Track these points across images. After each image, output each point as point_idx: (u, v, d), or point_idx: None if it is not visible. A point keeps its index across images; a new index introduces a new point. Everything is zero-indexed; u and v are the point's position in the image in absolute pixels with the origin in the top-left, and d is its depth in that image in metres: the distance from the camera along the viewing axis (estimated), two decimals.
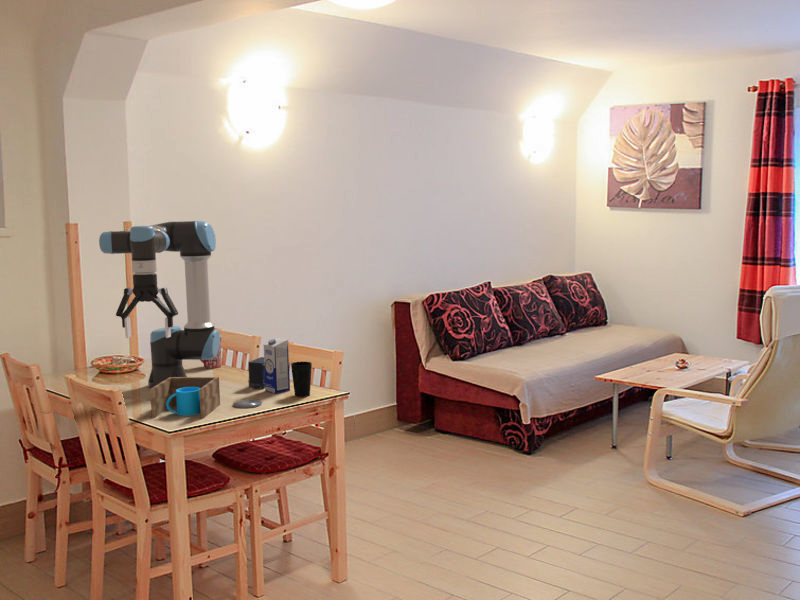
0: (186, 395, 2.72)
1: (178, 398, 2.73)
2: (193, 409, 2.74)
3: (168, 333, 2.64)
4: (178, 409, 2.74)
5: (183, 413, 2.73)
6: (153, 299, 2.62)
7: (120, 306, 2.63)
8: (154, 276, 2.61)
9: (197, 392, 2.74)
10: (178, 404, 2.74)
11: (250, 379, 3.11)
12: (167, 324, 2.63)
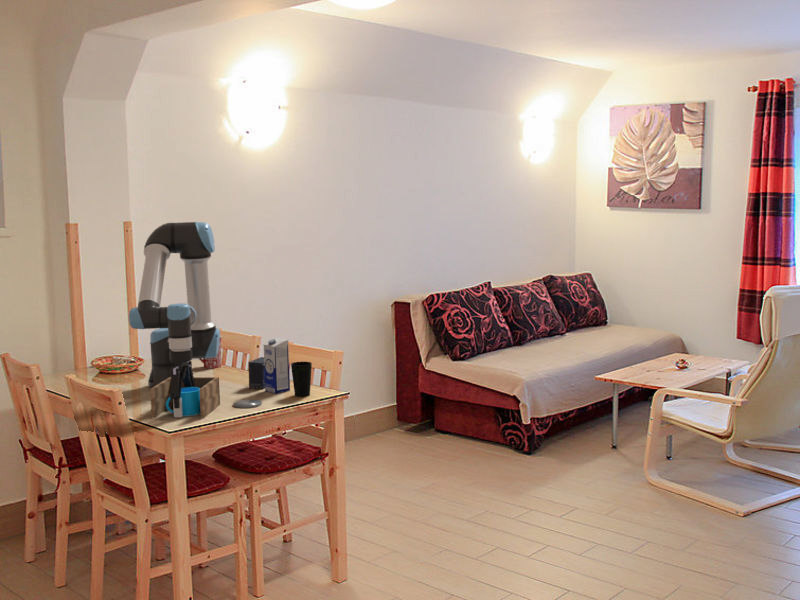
0: (186, 395, 2.72)
1: None
2: (193, 409, 2.73)
3: (176, 413, 2.70)
4: None
5: (183, 413, 2.73)
6: None
7: None
8: (174, 354, 2.70)
9: (197, 392, 2.74)
10: None
11: (250, 379, 3.11)
12: None
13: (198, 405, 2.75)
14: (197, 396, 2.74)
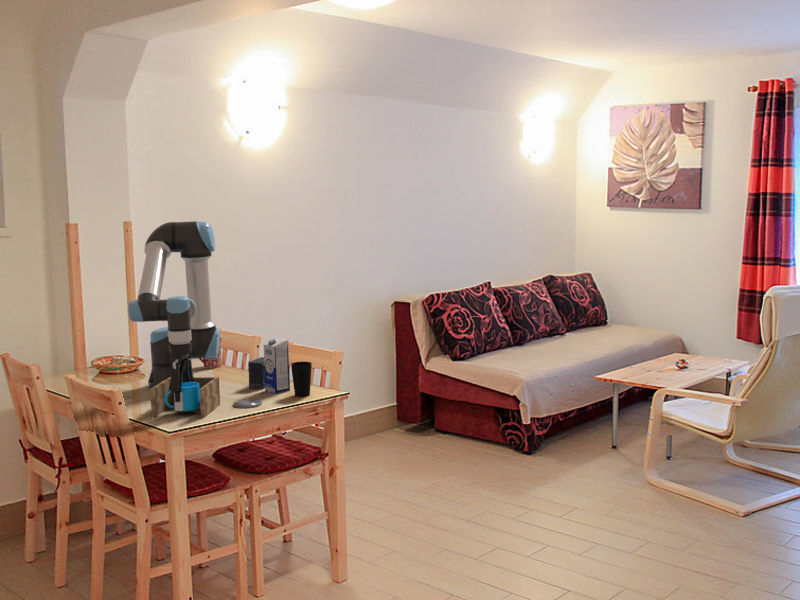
0: (185, 390, 2.71)
1: None
2: (192, 404, 2.73)
3: (176, 407, 2.71)
4: None
5: None
6: None
7: None
8: (174, 347, 2.70)
9: (196, 387, 2.73)
10: None
11: (250, 379, 3.11)
12: None
13: (197, 400, 2.74)
14: (196, 391, 2.74)
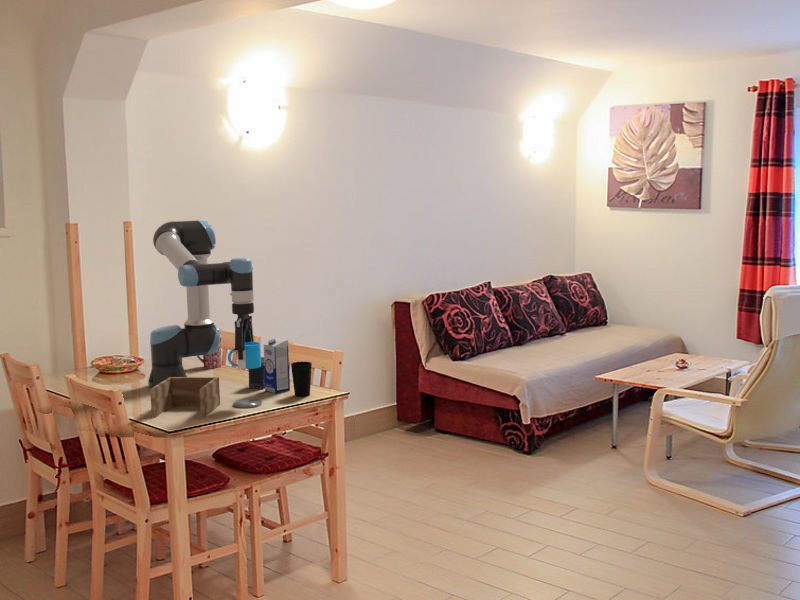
0: (248, 348, 2.80)
1: None
2: (254, 362, 2.81)
3: (239, 364, 2.80)
4: None
5: None
6: None
7: None
8: (237, 306, 2.78)
9: (258, 346, 2.82)
10: None
11: (250, 379, 3.11)
12: None
13: (259, 359, 2.83)
14: (258, 350, 2.82)
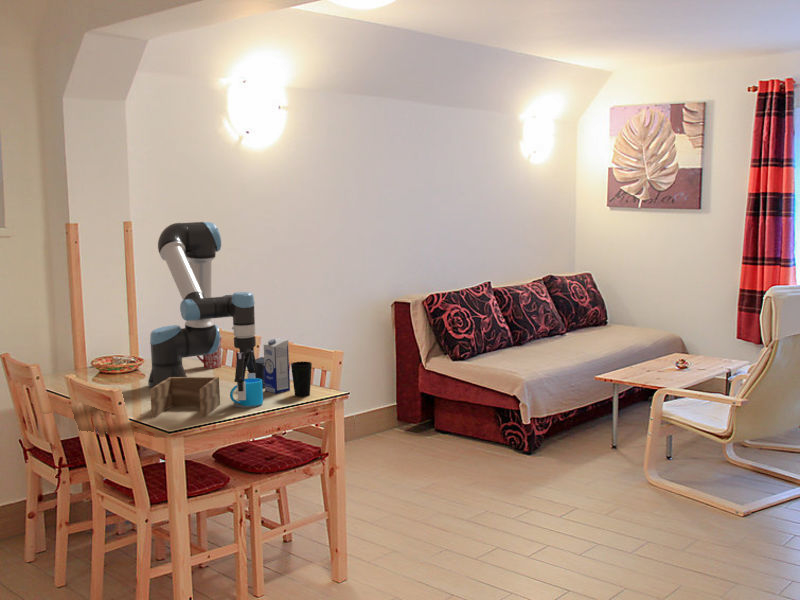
0: (250, 386, 2.81)
1: None
2: (256, 399, 2.83)
3: (239, 396, 2.79)
4: None
5: (246, 403, 2.82)
6: None
7: None
8: (239, 340, 2.80)
9: (259, 383, 2.83)
10: None
11: None
12: None
13: (260, 395, 2.84)
14: (260, 387, 2.84)
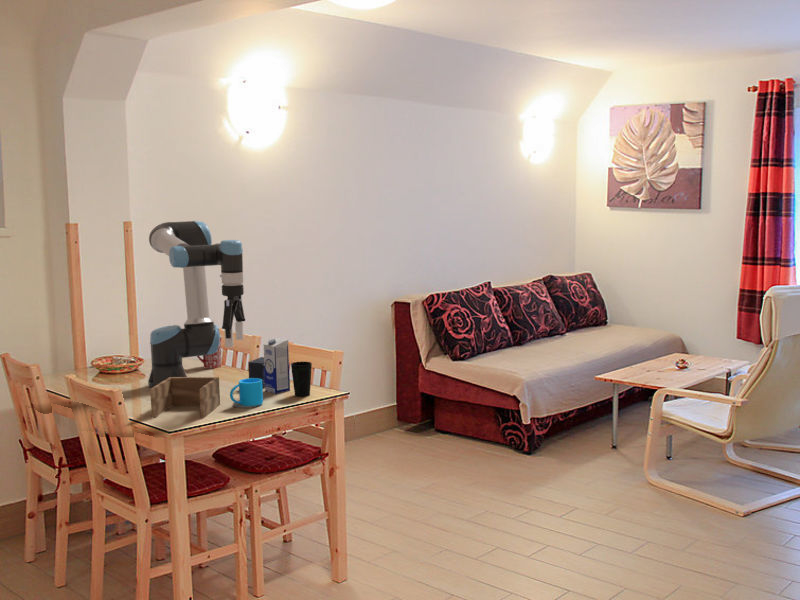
0: (249, 386, 2.81)
1: (241, 389, 2.82)
2: (256, 399, 2.83)
3: (227, 343, 2.79)
4: (241, 399, 2.83)
5: (246, 403, 2.82)
6: None
7: None
8: (227, 288, 2.80)
9: (259, 383, 2.83)
10: (241, 395, 2.83)
11: None
12: (225, 334, 2.79)
13: (260, 395, 2.84)
14: (260, 387, 2.83)
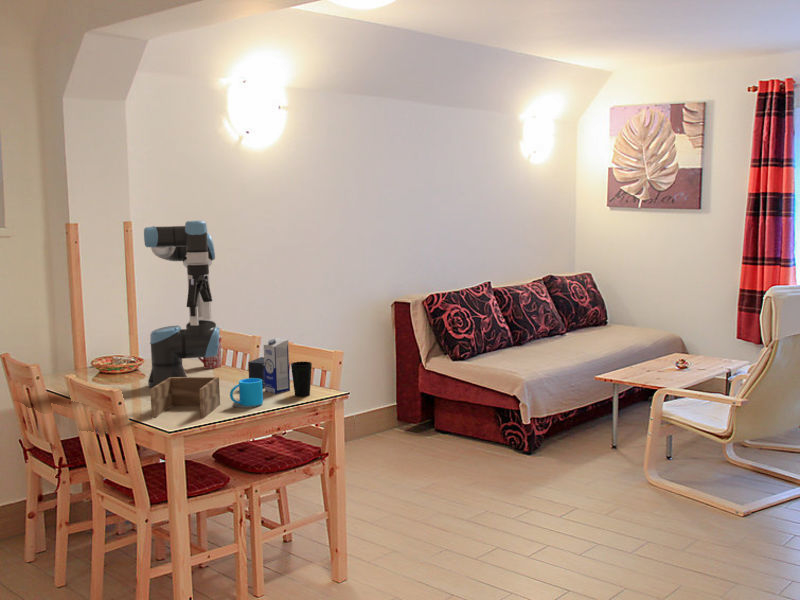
0: (250, 386, 2.81)
1: (241, 389, 2.82)
2: (256, 399, 2.83)
3: (192, 321, 2.84)
4: (241, 399, 2.83)
5: (246, 403, 2.82)
6: None
7: None
8: (192, 267, 2.85)
9: (259, 383, 2.83)
10: (241, 395, 2.83)
11: None
12: (190, 313, 2.84)
13: (260, 395, 2.84)
14: (260, 387, 2.83)
